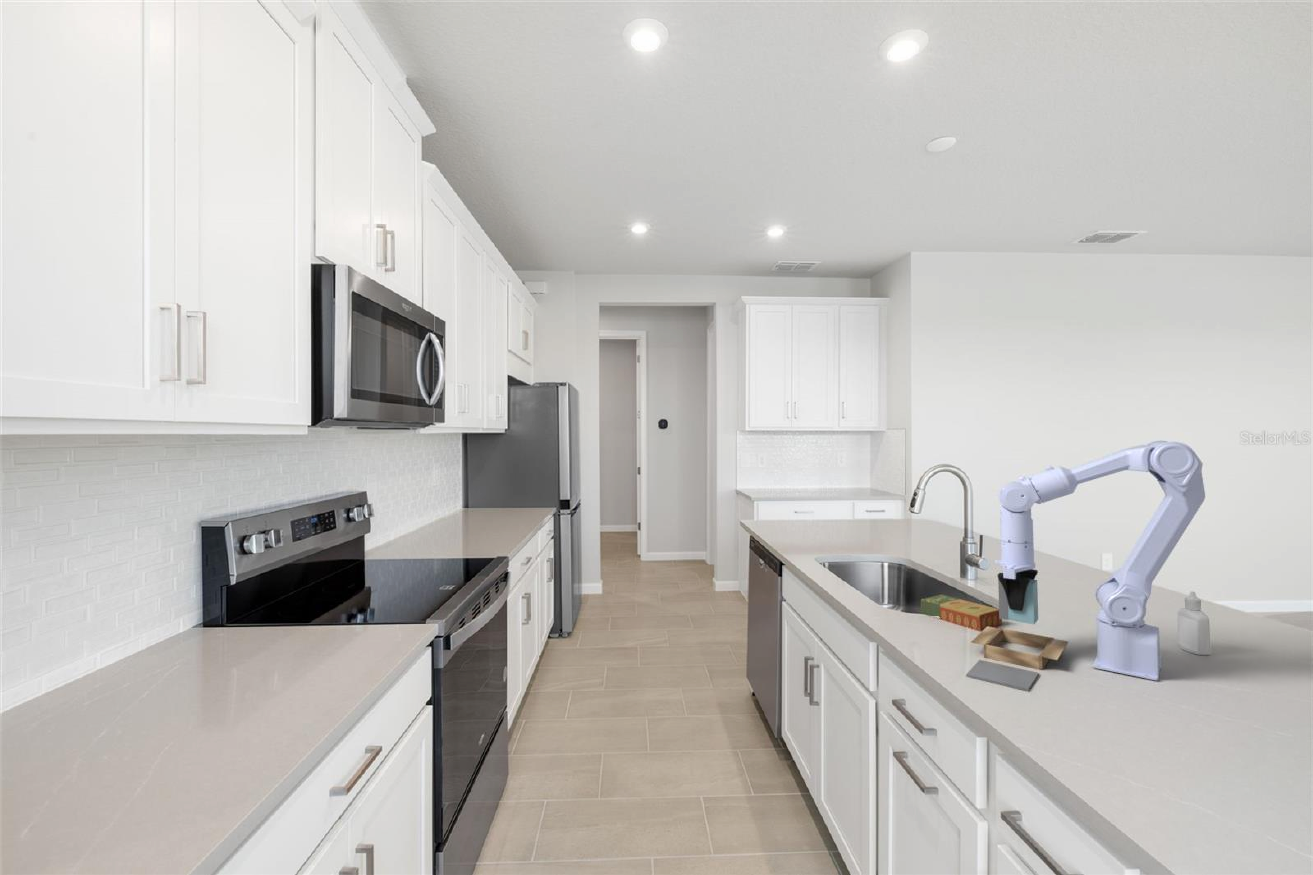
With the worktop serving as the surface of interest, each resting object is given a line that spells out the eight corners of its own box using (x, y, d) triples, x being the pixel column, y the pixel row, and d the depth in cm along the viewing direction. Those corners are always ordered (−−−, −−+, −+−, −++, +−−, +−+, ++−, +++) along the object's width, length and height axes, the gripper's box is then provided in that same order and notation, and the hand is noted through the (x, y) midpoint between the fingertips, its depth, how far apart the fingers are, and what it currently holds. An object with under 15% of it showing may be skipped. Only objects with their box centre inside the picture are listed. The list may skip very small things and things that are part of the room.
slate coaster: (1038, 675, 109) (1038, 672, 109) (1028, 691, 102) (1028, 689, 102) (979, 661, 116) (979, 659, 116) (966, 676, 109) (966, 674, 109)
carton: (979, 633, 133) (979, 614, 133) (920, 614, 147) (919, 597, 147) (1002, 626, 136) (1002, 608, 136) (942, 609, 151) (941, 592, 151)
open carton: (1069, 652, 119) (1068, 640, 119) (1057, 673, 110) (1056, 659, 110) (988, 637, 129) (987, 625, 129) (970, 654, 120) (970, 642, 120)
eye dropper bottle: (1181, 653, 117) (1180, 593, 117) (1177, 644, 122) (1176, 587, 122) (1211, 657, 115) (1210, 596, 115) (1205, 648, 119) (1204, 590, 119)
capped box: (1038, 619, 119) (1037, 579, 119) (1033, 624, 116) (1032, 583, 116) (1004, 613, 123) (1003, 575, 123) (999, 618, 120) (998, 579, 120)
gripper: (1003, 533, 127) (1005, 595, 127) (985, 544, 117) (987, 612, 117) (1041, 537, 122) (1043, 601, 122) (1026, 548, 112) (1028, 618, 112)
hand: (1018, 607), depth 119 cm, fingers closed on capped box, 4 cm apart
